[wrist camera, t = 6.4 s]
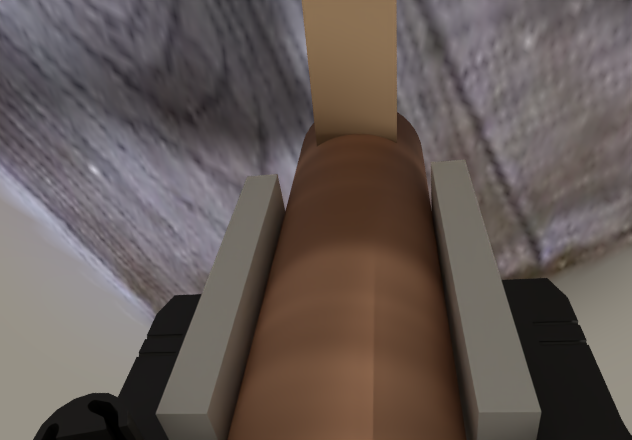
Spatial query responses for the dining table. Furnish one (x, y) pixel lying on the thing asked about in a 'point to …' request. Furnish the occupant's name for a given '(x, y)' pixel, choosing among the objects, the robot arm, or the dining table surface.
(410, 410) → the lever
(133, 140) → the dining table surface
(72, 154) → the dining table surface
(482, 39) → the dining table surface
